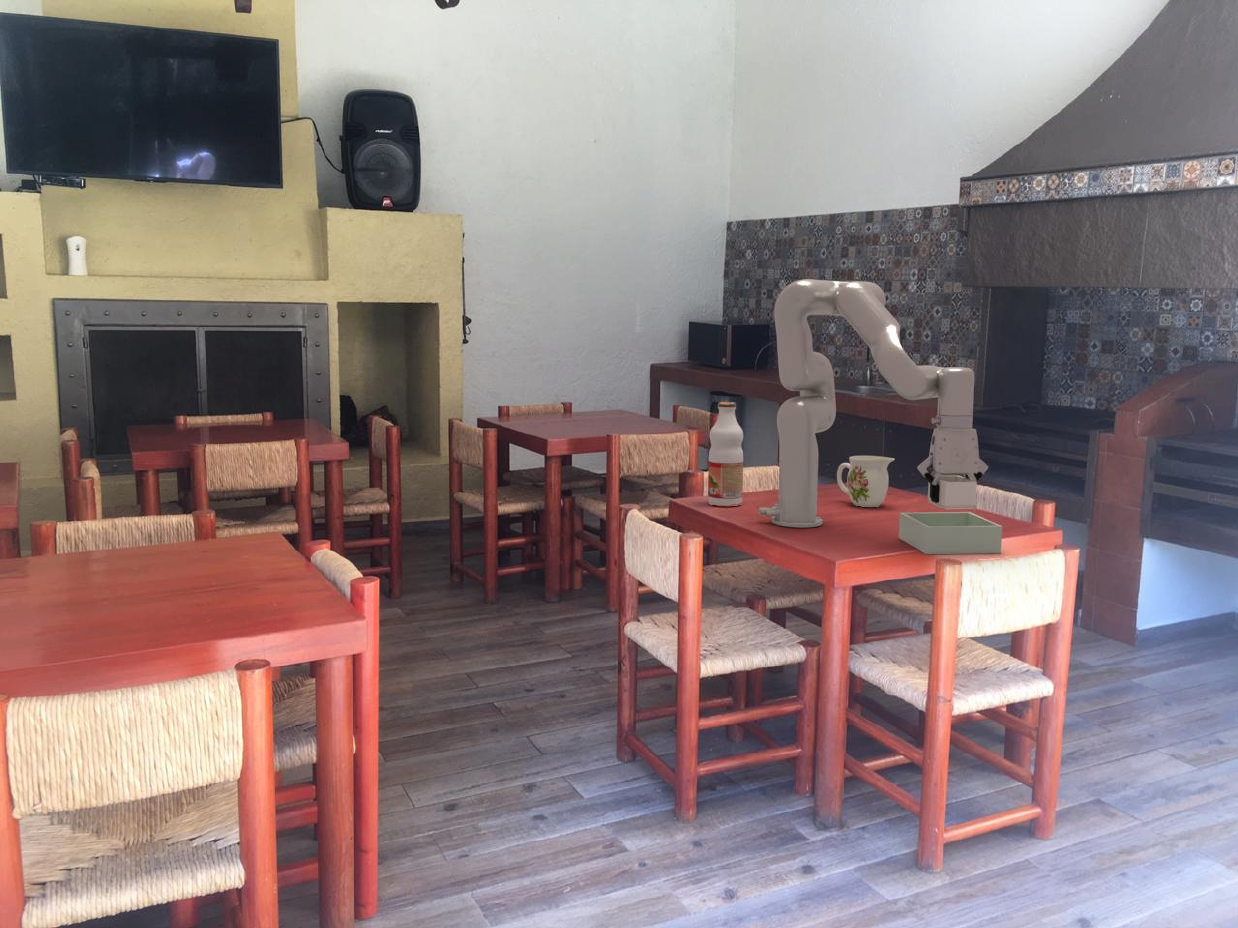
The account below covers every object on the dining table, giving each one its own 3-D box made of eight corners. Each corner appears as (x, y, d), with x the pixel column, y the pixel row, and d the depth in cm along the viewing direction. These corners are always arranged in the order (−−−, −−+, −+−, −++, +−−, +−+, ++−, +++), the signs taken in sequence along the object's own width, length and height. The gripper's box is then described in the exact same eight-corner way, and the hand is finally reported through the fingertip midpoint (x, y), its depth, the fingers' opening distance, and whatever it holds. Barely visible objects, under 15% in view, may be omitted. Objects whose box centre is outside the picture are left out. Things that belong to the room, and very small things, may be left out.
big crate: (925, 554, 233) (927, 527, 232) (898, 537, 249) (899, 512, 248) (1000, 553, 234) (1002, 526, 233) (968, 537, 251) (970, 512, 250)
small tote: (944, 509, 235) (946, 482, 234) (927, 501, 245) (928, 475, 244) (975, 508, 236) (976, 481, 235) (957, 501, 246) (958, 475, 245)
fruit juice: (737, 508, 285) (739, 404, 281) (703, 506, 288) (705, 403, 284) (745, 503, 294) (748, 401, 290) (712, 500, 297) (714, 400, 293)
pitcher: (848, 498, 302) (850, 450, 300) (903, 507, 289) (905, 457, 287) (824, 503, 295) (826, 454, 293) (880, 512, 282) (882, 460, 280)
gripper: (923, 424, 233) (920, 504, 236) (999, 424, 235) (995, 503, 237) (910, 421, 241) (908, 499, 243) (984, 420, 242) (981, 498, 245)
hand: (951, 500), depth 240 cm, fingers closed on small tote, 7 cm apart
